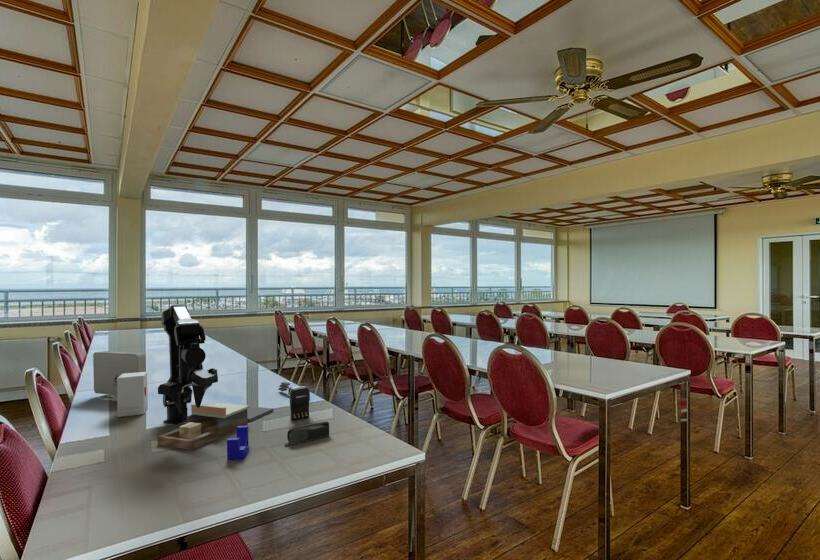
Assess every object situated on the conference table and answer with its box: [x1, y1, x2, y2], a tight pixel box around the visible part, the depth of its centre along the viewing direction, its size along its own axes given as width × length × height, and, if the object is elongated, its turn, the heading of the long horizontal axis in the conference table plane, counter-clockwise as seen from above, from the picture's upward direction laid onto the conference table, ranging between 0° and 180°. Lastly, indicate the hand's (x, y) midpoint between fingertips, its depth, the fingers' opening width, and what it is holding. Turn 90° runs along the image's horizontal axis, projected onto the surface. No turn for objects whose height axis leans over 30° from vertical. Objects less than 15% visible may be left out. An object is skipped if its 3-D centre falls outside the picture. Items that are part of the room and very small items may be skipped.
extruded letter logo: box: [277, 381, 293, 395], centre depth 193 cm, size 25×2×6 cm, turn 42°
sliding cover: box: [190, 402, 250, 418], centre depth 154 cm, size 14×12×3 cm
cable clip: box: [226, 425, 250, 462], centre depth 132 cm, size 12×4×6 cm, turn 7°
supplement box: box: [116, 371, 149, 418], centre depth 173 cm, size 9×9×15 cm
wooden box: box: [157, 409, 249, 451], centre depth 148 cm, size 14×24×6 cm, turn 159°
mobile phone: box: [284, 421, 330, 447], centre depth 141 cm, size 5×3×15 cm
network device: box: [92, 350, 147, 402], centre depth 196 cm, size 26×9×20 cm, turn 73°
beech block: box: [178, 422, 201, 440], centre depth 142 cm, size 4×4×5 cm
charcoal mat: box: [247, 405, 274, 422], centre depth 168 cm, size 13×13×1 cm
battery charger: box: [289, 386, 311, 421], centre depth 162 cm, size 7×4×11 cm, turn 118°
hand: (190, 410), depth 142 cm, fingers open, 6 cm apart
